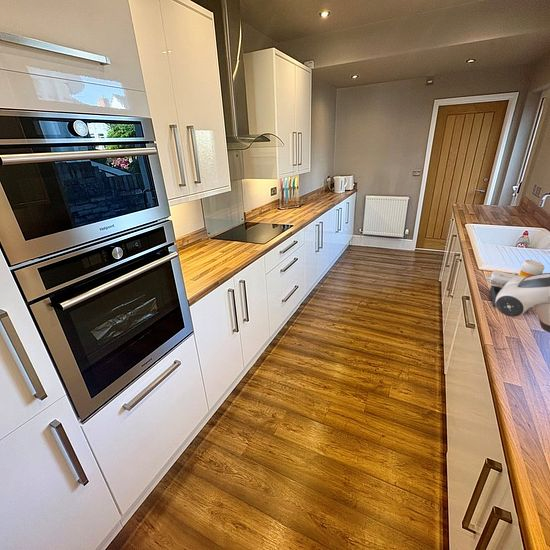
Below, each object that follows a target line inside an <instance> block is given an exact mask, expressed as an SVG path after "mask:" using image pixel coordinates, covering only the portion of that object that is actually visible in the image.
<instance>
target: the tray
mask: <svg viewBox="0 0 550 550" xmlns="http://www.w3.org/2000/svg"><path fill="white" fill-rule="evenodd" d="M490 285H491V286H490V288H489V295H490V299H491V304H492V307H493V308H497V307H496V304H495V300H496V296H497V294H498V293H499V291H500V290H501V289H502V288H501V287H498V286H494V285H492V284H490ZM529 310H530V308H529V309H528V310H527V311H526V312H525V313H524V314H528V312H529Z"/></svg>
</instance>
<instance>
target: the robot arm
mask: <svg viewBox="0 0 550 550" xmlns="http://www.w3.org/2000/svg"><path fill="white" fill-rule="evenodd" d="M518 274H519V273H517V272H513V273H509V272H506V271H501V270H498V269H497V270H495V269H494V270H492V272H491V275H490V276H487V277H486V282H489V284H490V285H492V286H498V287H501V288H502V289H501V290H500V291H499V293H498V294H497V296H496V300H495V304H496V307H495V308H496V309H497V311H499V313H500V314H503V315H504V316H507V317H509V318H517V317H520V316H522V315H524V314H526V313H525V312H526V311H527V310H528V309H529V310H530V308H533V307H534V310H535V312H536V315H537V318H538V321H539V324H540V328H541V329H542V330H543V331H546V333H549V334H550V272H544V273H543V272H542V274H537V275H532V276H529V277H521V276H518ZM529 310H528V311H529Z"/></svg>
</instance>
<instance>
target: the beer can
mask: <svg viewBox="0 0 550 550" xmlns="http://www.w3.org/2000/svg"><path fill="white" fill-rule="evenodd" d="M544 270H545V264H544V263H543V262H541V261H539V260H533V259H526V260H525V261H523V262H522V264H521V266H520V270H519V271H518V273H517V274H518V276H521V277H529V276H532V275H537V274H543V272H544Z"/></svg>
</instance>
